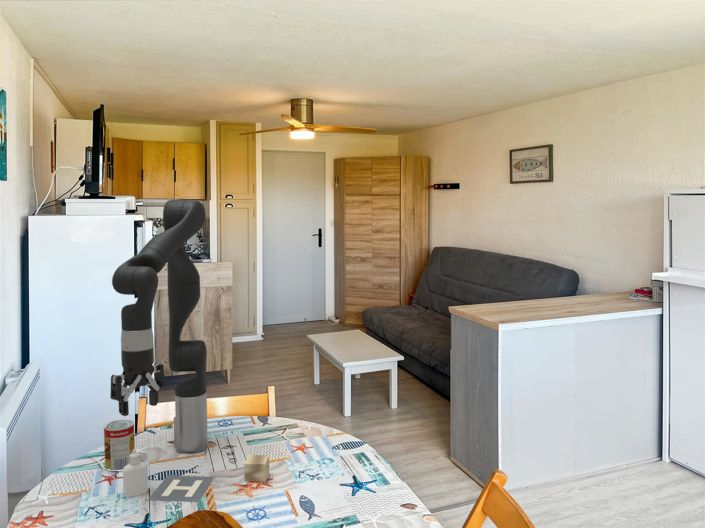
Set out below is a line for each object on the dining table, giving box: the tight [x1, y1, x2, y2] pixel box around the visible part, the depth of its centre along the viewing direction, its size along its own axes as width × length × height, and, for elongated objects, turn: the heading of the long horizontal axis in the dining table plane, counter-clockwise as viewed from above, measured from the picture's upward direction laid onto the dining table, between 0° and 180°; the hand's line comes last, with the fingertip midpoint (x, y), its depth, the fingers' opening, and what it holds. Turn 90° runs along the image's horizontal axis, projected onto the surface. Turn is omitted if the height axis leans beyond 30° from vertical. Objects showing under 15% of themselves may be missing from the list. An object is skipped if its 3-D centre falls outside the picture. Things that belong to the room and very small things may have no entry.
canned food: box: [103, 418, 136, 470], centre depth 154 cm, size 8×8×12 cm
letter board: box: [147, 474, 216, 503], centre depth 141 cm, size 13×13×1 cm
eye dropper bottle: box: [122, 448, 149, 498], centre depth 138 cm, size 4×6×12 cm
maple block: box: [243, 454, 270, 485], centre depth 147 cm, size 6×6×6 cm
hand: (139, 410), depth 136 cm, fingers open, 8 cm apart
